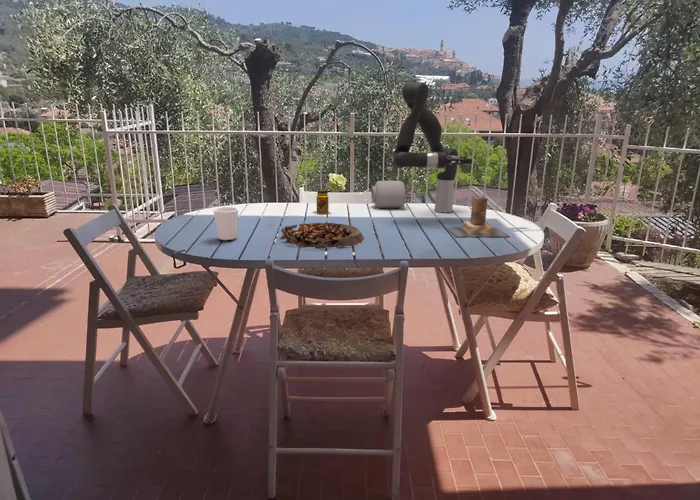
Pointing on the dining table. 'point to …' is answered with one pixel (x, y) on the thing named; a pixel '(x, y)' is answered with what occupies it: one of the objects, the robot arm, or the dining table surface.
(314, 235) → the food dish
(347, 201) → the dining table surface
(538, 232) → the dining table surface
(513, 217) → the dining table surface
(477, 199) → the pillar
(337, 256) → the dining table surface
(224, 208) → the cup
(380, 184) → the jar
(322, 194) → the condiment
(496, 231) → the plinth
